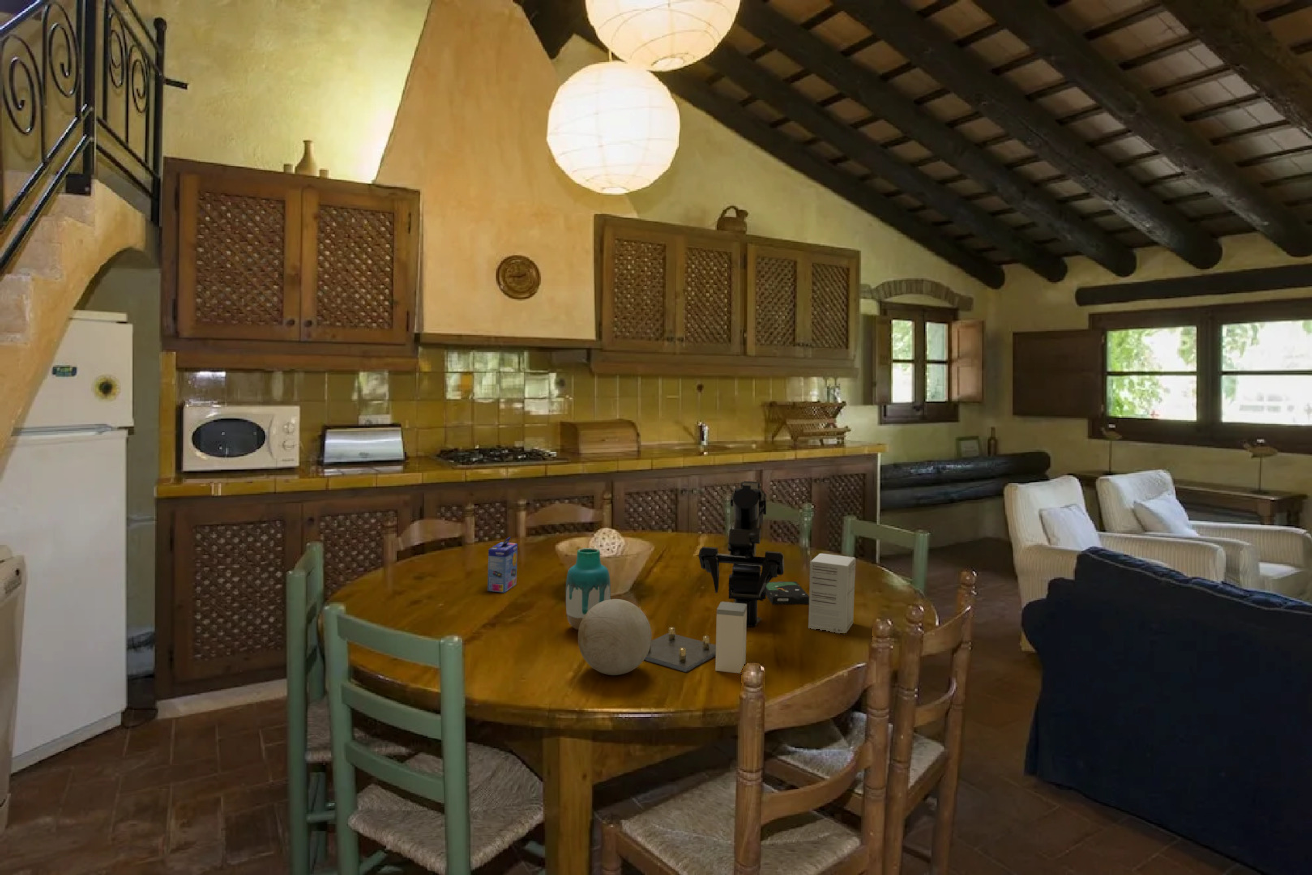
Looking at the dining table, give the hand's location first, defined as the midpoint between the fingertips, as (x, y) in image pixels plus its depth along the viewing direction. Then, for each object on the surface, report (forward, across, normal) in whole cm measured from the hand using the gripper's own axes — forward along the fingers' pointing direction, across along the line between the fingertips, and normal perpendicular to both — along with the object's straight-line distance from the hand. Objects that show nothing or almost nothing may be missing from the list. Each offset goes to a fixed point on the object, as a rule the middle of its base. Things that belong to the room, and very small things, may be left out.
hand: (737, 593), depth 165 cm
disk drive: (-24, +7, +44) cm, 50 cm away
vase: (+5, -36, +14) cm, 39 cm away
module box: (+15, 0, +4) cm, 15 cm away
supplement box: (-8, +20, +28) cm, 35 cm away
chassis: (+12, -12, +7) cm, 19 cm away
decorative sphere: (+22, -22, -2) cm, 31 cm away
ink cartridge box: (-13, -71, +32) cm, 79 cm away
